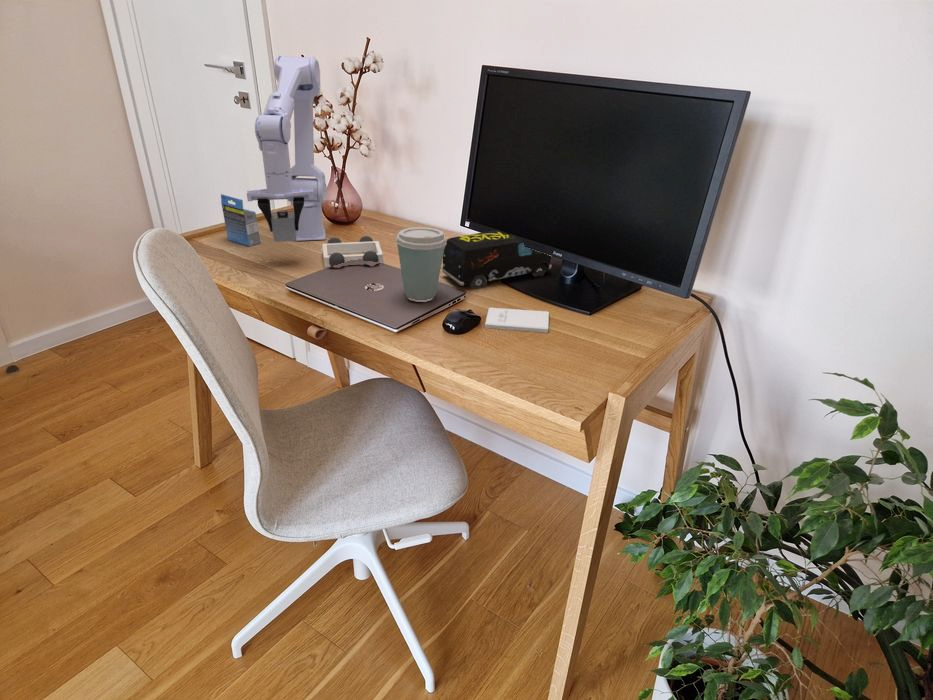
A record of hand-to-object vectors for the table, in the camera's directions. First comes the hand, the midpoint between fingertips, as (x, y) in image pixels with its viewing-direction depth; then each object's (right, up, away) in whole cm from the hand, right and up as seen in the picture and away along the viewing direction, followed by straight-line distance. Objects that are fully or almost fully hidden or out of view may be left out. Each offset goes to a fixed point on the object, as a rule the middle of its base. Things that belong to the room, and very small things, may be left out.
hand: (284, 229), depth 147 cm
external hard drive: (+53, -23, -20) cm, 61 cm away
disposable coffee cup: (+33, -17, -11) cm, 39 cm away
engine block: (0, -2, +1) cm, 2 cm away
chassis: (+15, -6, +8) cm, 18 cm away
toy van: (+50, -11, +1) cm, 51 cm away
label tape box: (-16, 0, +17) cm, 23 cm away
